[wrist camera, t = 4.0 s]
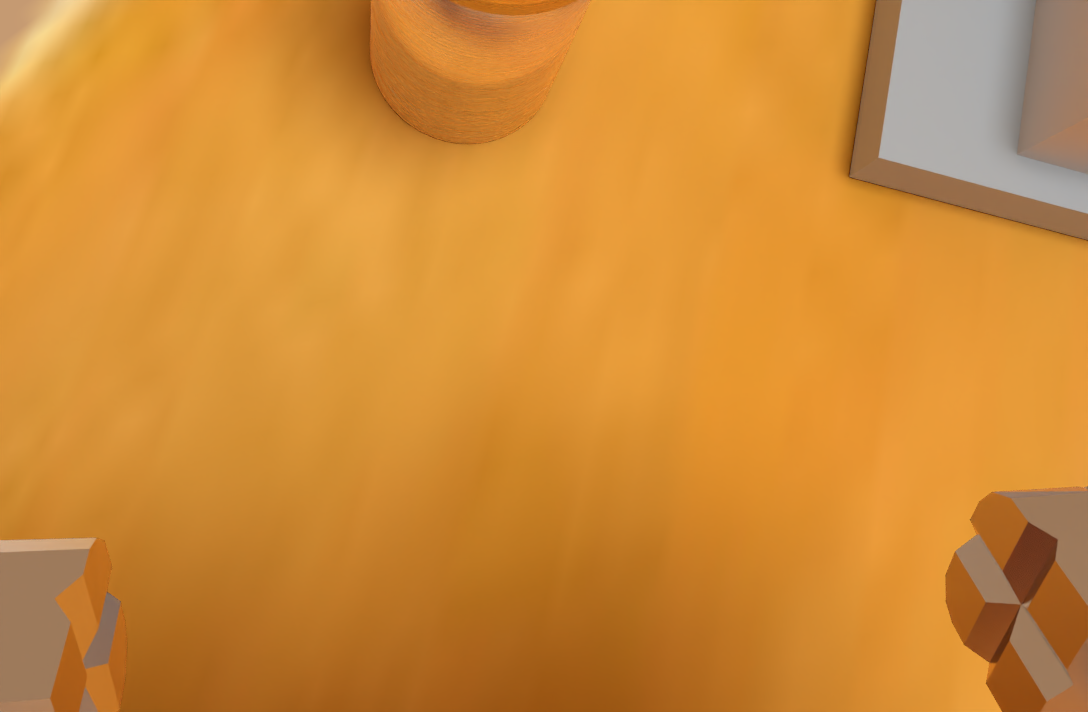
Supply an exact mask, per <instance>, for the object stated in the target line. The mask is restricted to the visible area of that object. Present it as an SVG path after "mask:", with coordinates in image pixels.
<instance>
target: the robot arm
mask: <svg viewBox="0 0 1088 712" xmlns="http://www.w3.org/2000/svg"><path fill="white" fill-rule="evenodd" d="M970 521H971V523H972V525H973V527H974V529H975V532H976V534H977V535H976V536H974V537H973V538H972V539H971V540H969V541H968V542H967V543H965V544H964V545H963V546H962V547H960V548H959V549H958V550H956V551H955V553H954V556H953V558H952V560H951V563H950V565H949V568H948V570H947V573H946V575H945V577H946V604H947V607H948V610H949V614H950V617H951V621H952V623H953V625H954V627H955V629H956V631H957V633H958V634H959V636H960V638H961V640H962V642H963V644H964V645H965V646H967V647H968V648H970V649H971V650H972V651H974V652H975V653H977V654H978V655H979V656H981V657H982V658H984V659H985V660H986V661H988V662H989V668H988V674H987V680H986V684H987V686H988V688H989V689H990V691H991V693H992V695H993V696H994V698H995V700H996V702H997V703H998V705H999V707H1000V709H1001V710H1002V712H1088V487H1084V488H1082V487H1065V488H1049V489H1032V490H1016V491H1000V492H991V493H990V494H989V495H987V496H986V497H985V498H983V499H982V500H981V501H979V503H978V505H977V507H976V509H975V511H974V513H973V515H972V517H971V519H970ZM111 570H112V564H111V561H110V558H109V554H108V551H107V547H106V544H105V540H102V539H99V538H70V539H32V540H0V712H118V711H119V710H120V706H121V701H122V695H123V689H124V684H125V676H126V658H127V637H126V625H125V618H124V614H123V609H122V605H121V601H119V600H118V599H116V598H115V597H114V596H112V595H111V594H109V593H108V592H107V588H108V584H109V579H110V574H111Z"/></svg>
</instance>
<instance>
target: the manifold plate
mask: <svg viewBox="0 0 1088 712" xmlns="http://www.w3.org/2000/svg"><path fill="white" fill-rule="evenodd" d="M849 177H851V178H855V179H859V180H863V181H866V182H870V183H874V184H878V185H881V186H885V187H889V188H893V189H897V190H900V191H904V192H908V193H912V194H915V195H919V196H923V197H927V198H931V199H934V200H938V201H942V202H946V203H949V204H953V205H957V206H961V207H965V208H968V209H972V210H976V211H980V212H983V213H987V214H991V215H995V216H999V217H1002V218H1006V219H1010V220H1014V221H1017V222H1021V223H1025V224H1029V225H1033V226H1036V227H1040V228H1044V229H1048V230H1051V231H1055V232H1059V233H1063V234H1067V235H1070V236H1074V237H1078V238H1082V239H1086V240H1088V0H877V1H876V7H875V13H874V20H873V26H872V33H871V39H870V46H869V52H868V59H867V65H866V72H865V78H864V85H863V91H862V98H861V104H860V111H859V117H858V123H857V130H856V136H855V143H854V149H853V156H852V162H851V169H850V175H849Z"/></svg>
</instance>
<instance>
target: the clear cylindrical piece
mask: <svg viewBox="0 0 1088 712" xmlns="http://www.w3.org/2000/svg"><path fill="white" fill-rule="evenodd" d="M590 1H591V0H371V21H370V60H371V67H372V71H373V75H374V78H375V80H376V83H377V85H378V88H379V90H380V92H381V93H382V95H383V97H384V99H385V100H386V101H387V103H388V104H389V105H390V107H391V108H392V109H393V110H394V111H395V112H396V113H397V114H398V115H399V116H400V117H401V118H402V119H403V120H404V121H405V122H407V123H408V124H409V125H410V126H412V127H414V128H415V129H417V130H419V131H420V132H422V133H424V134H426V135H429V136H431V137H433V138H436V139H439V140H443V141H447V142H452V143H460V144H476V143H484V142H489V141H493V140H496V139H499V138H502V137H505V136H507V135H509V134H511V133H513V132H515V131H516V130H518V129H519V128H521V127H522V126H523V125H525V124H526V123H527V122H528V121H529V120H530V119H531V118H532V117H533V116H534V115H535V114H536V112H537V111H538V110H539V109H540V107H541V105H542V104H543V102H544V101H545V99H546V97H547V94H548V92H549V90H550V88H551V86H552V84H553V81H554V79H555V77H556V75H557V73H558V71H559V68H560V66H561V64H562V62H563V60H564V58H565V55H566V53H567V51H568V49H569V47H570V45H571V42H572V40H573V38H574V36H575V34H576V32H577V29H578V27H579V25H580V23H581V21H582V19H583V16H584V14H585V12H586V10H587V8H588V6H589V3H590Z"/></svg>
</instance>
